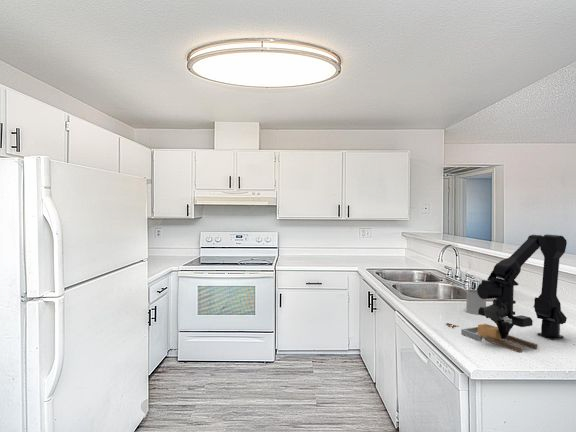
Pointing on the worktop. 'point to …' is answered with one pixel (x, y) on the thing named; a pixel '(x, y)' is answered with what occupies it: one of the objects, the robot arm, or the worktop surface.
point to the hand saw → (450, 325)
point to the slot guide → (511, 346)
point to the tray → (472, 333)
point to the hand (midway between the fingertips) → (503, 338)
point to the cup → (474, 302)
